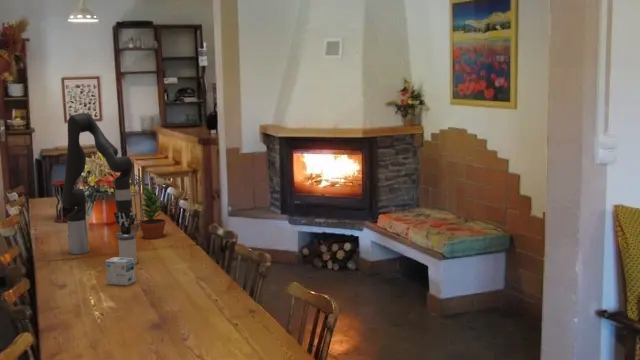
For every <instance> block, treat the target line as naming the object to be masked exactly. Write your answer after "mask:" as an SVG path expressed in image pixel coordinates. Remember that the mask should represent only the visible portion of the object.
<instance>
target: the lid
mask: <svg viewBox="0 0 640 360" xmlns="http://www.w3.org/2000/svg"><path fill="white" fill-rule="evenodd" d="M122 229H123V233H121V231H120V232H116V233H115V238H116V239H119V238H131V237H135V238H136V237H137V235H138V232H137V231H135V230H134V231H133V230H131V233H130V234H126V225H122Z"/></svg>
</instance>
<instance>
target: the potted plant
mask: <svg viewBox="0 0 640 360" xmlns="http://www.w3.org/2000/svg"><path fill="white" fill-rule="evenodd" d="M142 188H143V189H144V192H143V194H144V196H145V197H142V196H141V199H143V200H142V201H143V202H144V203H142V204H141V205H142V208H141V211H142V210H143V217H145V218H146V219H145V220H143V219H142V220H143V221H141V222H140V221H138V223H139V228H140V230H141V233H142V235H143V238H144V239H145V240H157V238H158V239H162V238H163V236H164V233H165V232H164V231H165V226H166V225H167V224H166V223H167V221H166V219H164V218H163V219H161V218H157V217H158V216H161V215H162V214H163V213H164V212H165V211H164V212H163V211H162V212H160V213H159V211H161V210H162V208H161V207H162V204H159V200H160V199H161V197H160V195H161V193H157V194H156V195H154V194H155V192H156V190H157V189H158V188H159V186H157V187H155V188H154V189H153V190H151V189H150V187H148V186H142ZM143 207H144V208H143ZM157 213H158V214H157ZM156 214H157V215H156Z"/></svg>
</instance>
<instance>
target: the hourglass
mask: <svg viewBox="0 0 640 360" xmlns="http://www.w3.org/2000/svg"><path fill="white" fill-rule="evenodd" d="M64 181H65V179H64V180H63V179H62V180H56V181H53V182H51V186H52V187H53V190H54V197H55V198H56V200H57V203H56V205H55V211H56V214H55V215H56V218H54V222H55V223H59V224H65V223H66V224H67V215H68V214H70V213H72V212H73V211H74V210H75V209H76V207H72V208H65V207H64V206H63V204H62V192H63V186H64ZM78 184H79V179H78V180H77V181H76V182H75V184H74V187H73V189H76V188H77V189H78V186H77V185H78ZM59 205H60V207H59Z"/></svg>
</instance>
